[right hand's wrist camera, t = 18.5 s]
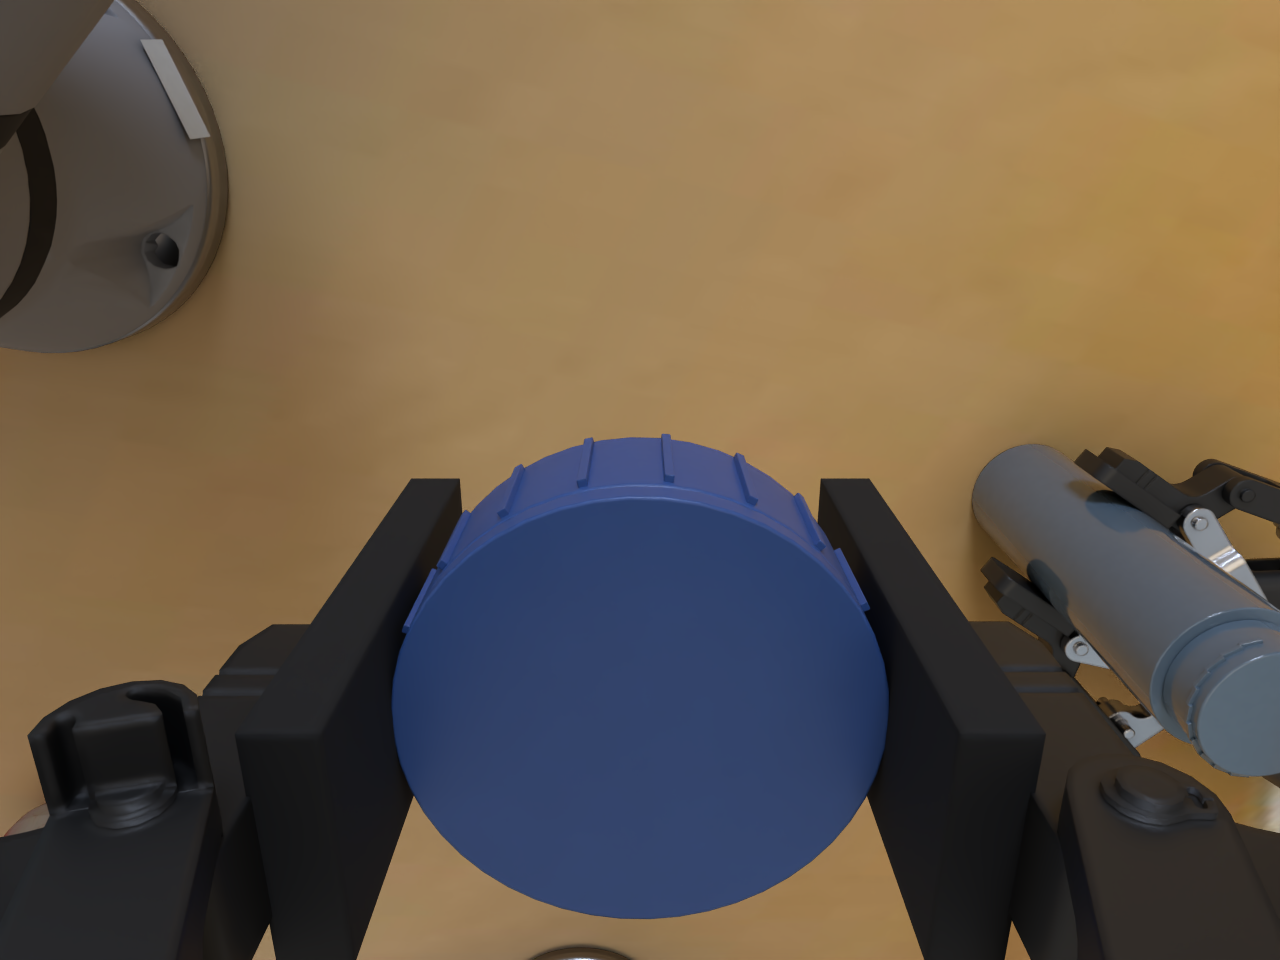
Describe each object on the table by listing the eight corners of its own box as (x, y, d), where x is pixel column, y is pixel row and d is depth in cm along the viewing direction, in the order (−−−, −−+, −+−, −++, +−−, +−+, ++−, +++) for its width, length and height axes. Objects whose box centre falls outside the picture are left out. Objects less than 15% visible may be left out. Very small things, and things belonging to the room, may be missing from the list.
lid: (512, 849, 13) (490, 969, 11) (355, 504, 12) (297, 577, 10) (893, 752, 13) (938, 862, 11) (794, 372, 11) (828, 421, 9)
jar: (990, 435, 41) (1225, 627, 24) (1093, 453, 41) (1394, 655, 25) (958, 533, 42) (1158, 774, 26) (1057, 549, 43) (1317, 798, 26)
